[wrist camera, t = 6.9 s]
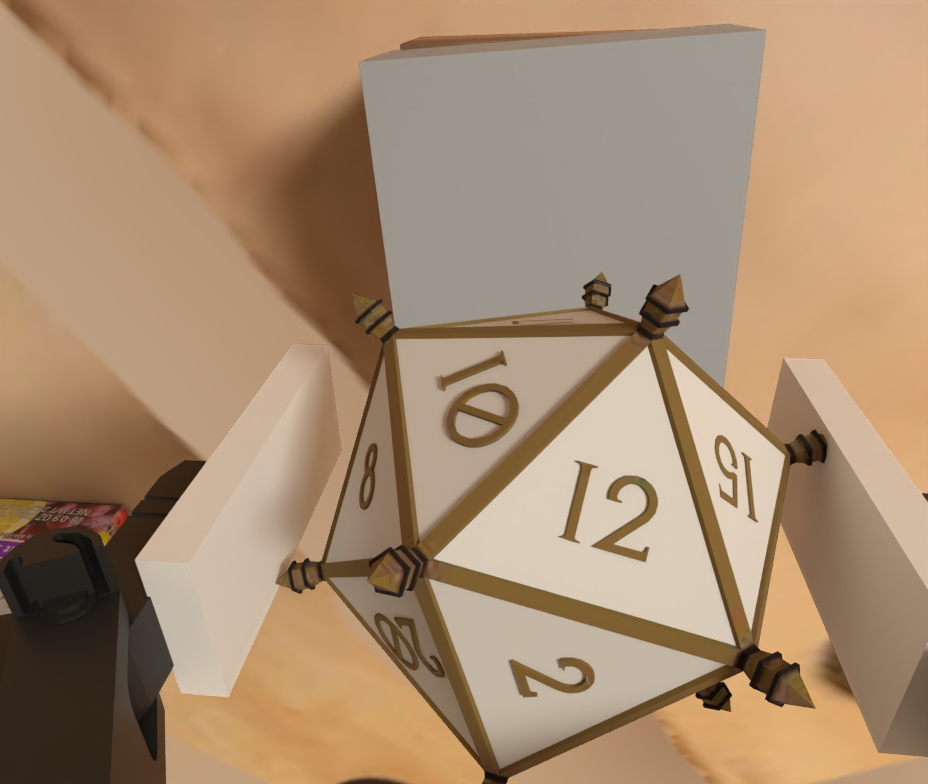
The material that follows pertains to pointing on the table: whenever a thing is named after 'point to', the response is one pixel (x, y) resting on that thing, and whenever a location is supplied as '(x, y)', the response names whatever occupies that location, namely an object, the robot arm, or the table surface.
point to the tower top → (567, 174)
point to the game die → (558, 525)
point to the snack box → (52, 523)
